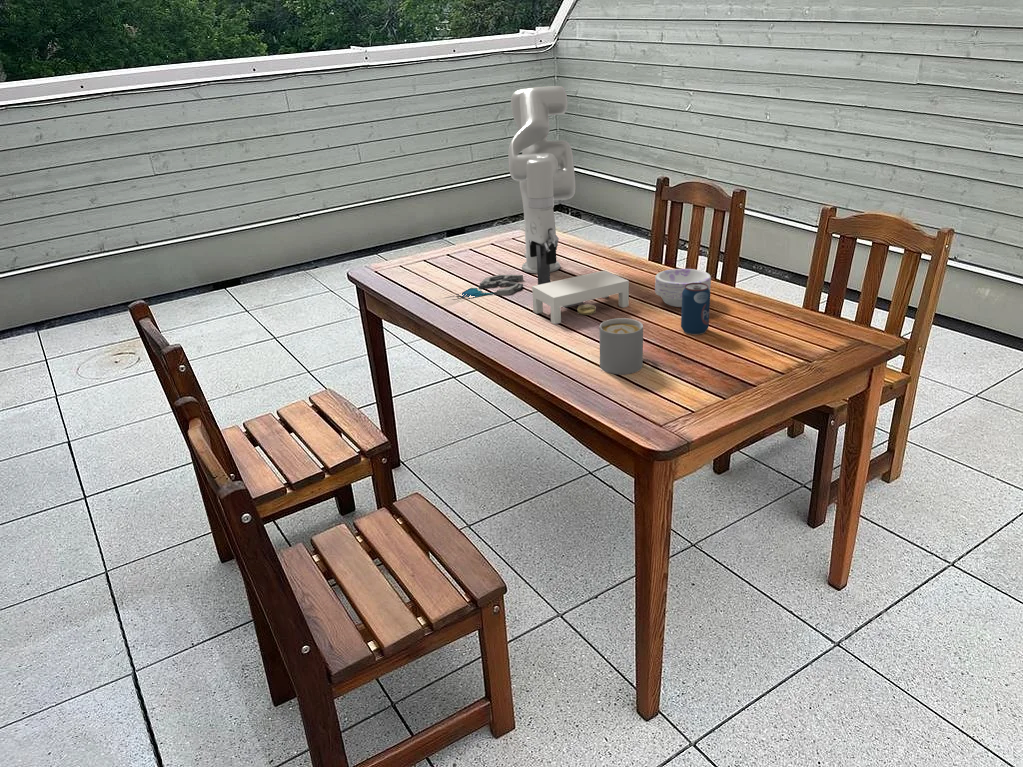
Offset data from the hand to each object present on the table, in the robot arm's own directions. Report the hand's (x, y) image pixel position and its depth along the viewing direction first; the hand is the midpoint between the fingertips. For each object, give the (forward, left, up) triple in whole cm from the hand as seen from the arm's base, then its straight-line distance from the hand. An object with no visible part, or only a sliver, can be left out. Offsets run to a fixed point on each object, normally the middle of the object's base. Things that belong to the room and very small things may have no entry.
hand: (543, 259), depth 231 cm
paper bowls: (+33, +26, -10) cm, 43 cm away
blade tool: (+8, 0, -9) cm, 12 cm away
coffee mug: (+59, -11, -10) cm, 61 cm away
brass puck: (+24, 0, -10) cm, 26 cm away
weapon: (-10, -18, -10) cm, 23 cm away
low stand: (+21, 0, -9) cm, 23 cm away
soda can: (+52, +15, -10) cm, 55 cm away
